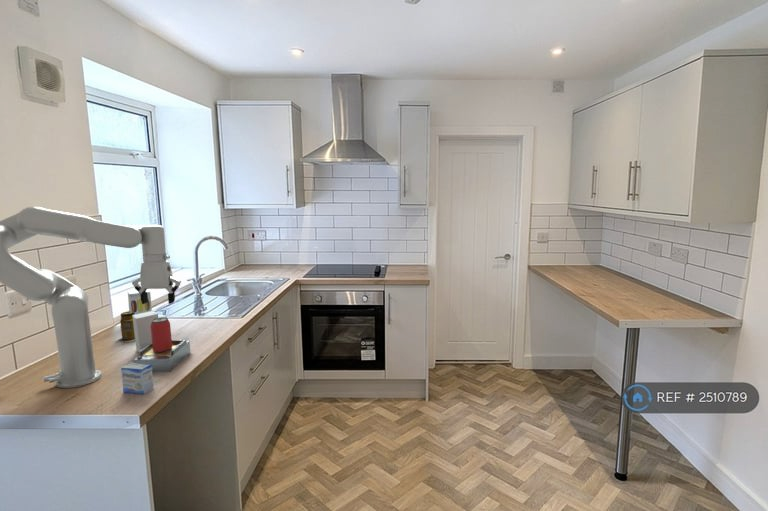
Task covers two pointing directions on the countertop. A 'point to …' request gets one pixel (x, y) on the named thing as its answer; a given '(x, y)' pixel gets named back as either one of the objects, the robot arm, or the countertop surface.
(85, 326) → the robot arm
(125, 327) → the condiment
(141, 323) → the skincare box
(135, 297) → the supplement box
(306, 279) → the countertop surface
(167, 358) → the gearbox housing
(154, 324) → the beer can
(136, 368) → the medicine box
